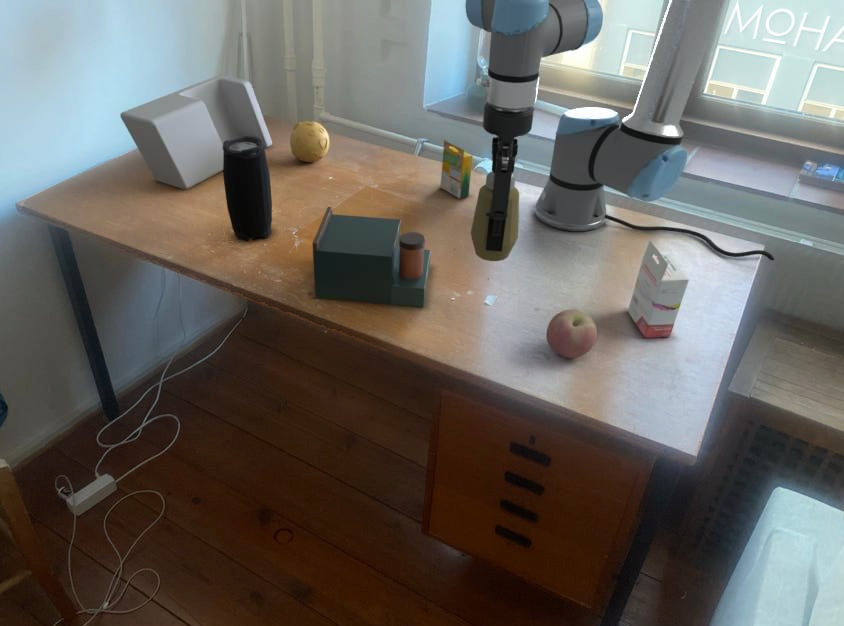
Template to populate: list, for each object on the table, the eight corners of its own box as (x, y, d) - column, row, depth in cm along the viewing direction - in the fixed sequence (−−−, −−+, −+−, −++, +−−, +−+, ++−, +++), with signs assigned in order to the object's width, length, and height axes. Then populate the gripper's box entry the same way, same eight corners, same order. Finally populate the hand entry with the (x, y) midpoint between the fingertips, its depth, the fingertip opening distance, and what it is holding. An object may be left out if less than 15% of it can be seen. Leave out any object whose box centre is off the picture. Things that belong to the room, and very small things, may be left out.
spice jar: (424, 267, 132) (426, 232, 127) (422, 280, 128) (424, 245, 124) (399, 265, 132) (400, 230, 128) (396, 278, 129) (397, 243, 124)
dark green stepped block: (429, 267, 140) (433, 214, 132) (423, 307, 129) (426, 251, 122) (329, 259, 141) (327, 206, 134) (315, 297, 131) (312, 242, 123)
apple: (538, 361, 117) (546, 322, 112) (547, 335, 122) (555, 297, 117) (587, 373, 115) (597, 333, 110) (594, 346, 120) (604, 307, 115)
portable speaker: (223, 238, 147) (210, 146, 135) (249, 219, 154) (239, 131, 142) (257, 247, 144) (246, 155, 132) (282, 228, 151) (275, 138, 139)
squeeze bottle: (514, 268, 120) (528, 167, 109) (466, 262, 121) (475, 162, 110) (516, 244, 126) (530, 146, 115) (471, 239, 127) (480, 142, 116)
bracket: (204, 224, 173) (152, 122, 149) (173, 213, 177) (117, 113, 153) (274, 144, 186) (235, 39, 162) (243, 136, 190) (201, 32, 166)
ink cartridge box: (671, 337, 123) (696, 264, 113) (643, 338, 122) (666, 265, 113) (652, 309, 129) (674, 238, 120) (626, 310, 129) (646, 238, 120)
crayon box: (469, 196, 165) (474, 147, 158) (459, 199, 163) (463, 150, 156) (449, 184, 169) (453, 137, 162) (440, 187, 168) (443, 139, 161)
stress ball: (291, 153, 183) (288, 114, 176) (329, 152, 183) (327, 113, 177) (291, 169, 175) (288, 129, 169) (331, 168, 176) (329, 128, 170)
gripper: (486, 80, 116) (474, 207, 130) (483, 128, 100) (469, 267, 114) (532, 82, 115) (515, 210, 129) (537, 131, 99) (516, 270, 113)
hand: (494, 236), depth 122 cm, fingers closed on squeeze bottle, 8 cm apart
